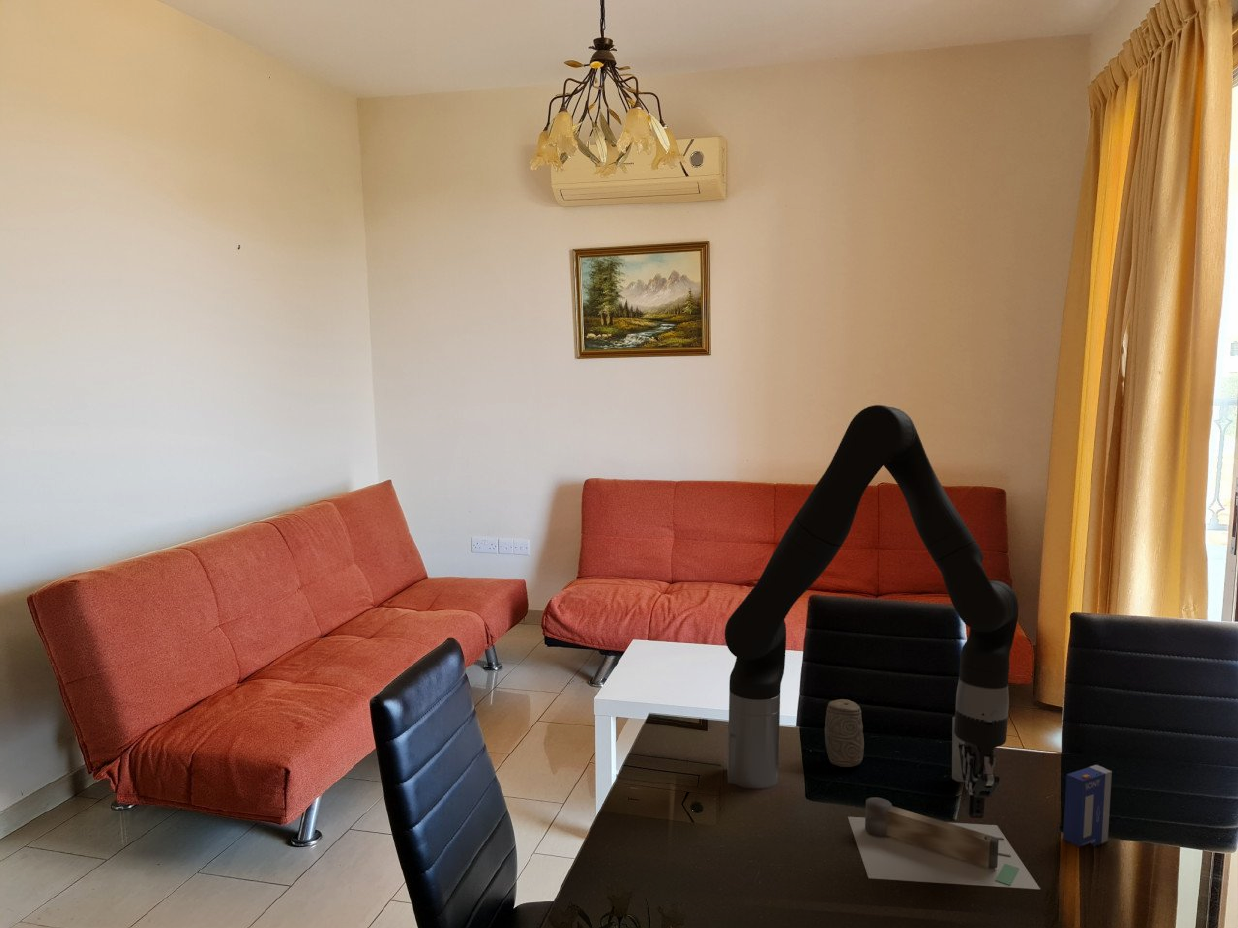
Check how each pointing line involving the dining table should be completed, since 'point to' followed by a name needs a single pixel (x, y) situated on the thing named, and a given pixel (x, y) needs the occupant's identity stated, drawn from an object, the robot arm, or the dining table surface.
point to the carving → (844, 733)
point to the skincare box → (956, 756)
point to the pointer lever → (930, 833)
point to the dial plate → (938, 861)
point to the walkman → (1087, 806)
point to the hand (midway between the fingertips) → (974, 815)
